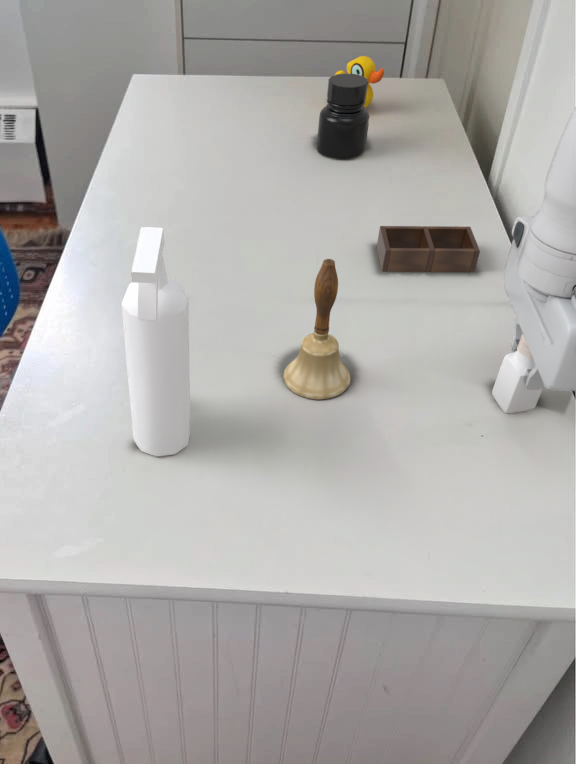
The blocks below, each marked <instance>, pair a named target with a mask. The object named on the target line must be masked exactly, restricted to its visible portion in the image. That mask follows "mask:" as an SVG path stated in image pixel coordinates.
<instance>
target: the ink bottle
mask: <svg viewBox="0 0 576 764" xmlns="http://www.w3.org/2000/svg"><path fill="white" fill-rule="evenodd" d="M335 74H336V73H335ZM335 74H334V75H331V76H330V77H329V78H328V83H327V92H326V105H325V106H324V107H322V109H321V110H320V112H319V116H318V127H317V137H316V138H317V139H316V150H317V152H318V153H319V154H321V155H322V156H325V157H327V158H330V157H331V158H330V159H335V158H336V159H337V160H350V159H354V158H358V157H359V156H361V155H362V154H364V151H365V150H366V145H367V140H368V132H369V125H370V123H369V122H370V112H369V110H368V109H367V107H366V108H365V107H364V104H365V100H366V94H367V87H368V79H366V78H365V77H364V76H360V75H358V74H347V73H346V74H344V73H343V74H336V75H335Z"/></svg>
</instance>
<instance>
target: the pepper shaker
mask: <svg viewBox="0 0 576 764" xmlns="http://www.w3.org/2000/svg"><path fill="white" fill-rule="evenodd" d="M534 367H535V366H534V359H533V357H532V354H531V352H530V349H529V347H528V344H527V342H526V340H525V337H524V335H523V334H522V336H521V339H520V342H519V344H518V347H517V351H516V352H513V351H512V352H510V353H507V354H506V355H505V356H504V357H503V359H502V362H501V365H500V368H499V371H498V373H497V376H496V379H495V382H494V385H493V388H492V390H491V395H492V397H493V399H494V400H495V402H496V403H497V404H498V406H499V407H500V408H501V410H502V411H503V412H504V413H505V414H513V413H520V412H525V411H532V410H533V409H535V408H536V406H537V404H538V401H539V399H540V396H541V394H542V392H543V390H544V388H545V386H543V388H542V389H540V390H528V389H527V388H526V385H525V382H524V377H525V373H526V371H527V369H533V368H534Z"/></svg>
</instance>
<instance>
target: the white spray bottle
mask: <svg viewBox="0 0 576 764" xmlns="http://www.w3.org/2000/svg"><path fill="white" fill-rule="evenodd" d="M164 236H165V235H164V227H149V226H140V228H139V233H138V239H137V243H136V248H135V253H134V257H133V262H132V267H131V271H130V274H131V275H130V276H131V282H130V283H129V284H128V286H127V288H126V291H125V294H124V297H123V298H122V301H121V315H122V328H123V336H124V337H123V338H124V348H125V349H124V350H125V359H126V371H127V382H128V393H129V405H130V415H131V427H132V437H133V441H134V444H135V445H136V446H137V447H138V449H139V450H140V451H141V452H142V453H146V454H147V455H151V456H153V457H165V456H173V455H176V454H178V453H179V452H181V451H182V450H183V449H185V448H186V447H188V446H189V440H190V437H191V390H190V388H191V385H190V384H191V383H190V382H191V381H190V380H191V379H190V314H189V313H190V309H189V307H190V306H189V304H190V303H189V302H190V301H189V296H188V294H187V293H186V291H185V289H184V287H183V286H182V285H181V284H180V283H179V282H178V281H177V280H176V279H175V278H171V277H168V275H167V270H166V265H165V260H164V256H163V251H164V246H165V237H164Z"/></svg>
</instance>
